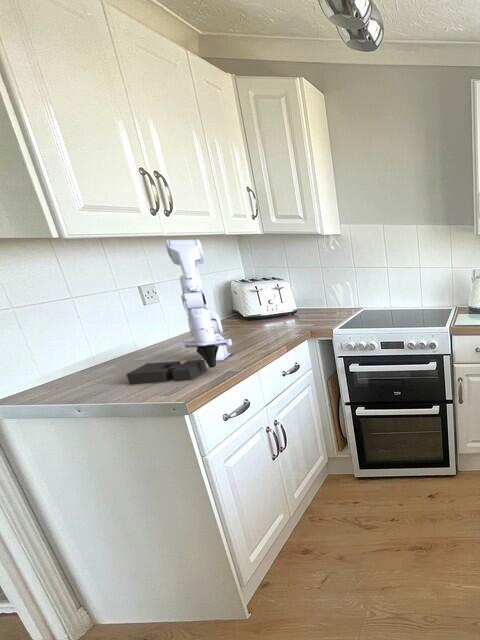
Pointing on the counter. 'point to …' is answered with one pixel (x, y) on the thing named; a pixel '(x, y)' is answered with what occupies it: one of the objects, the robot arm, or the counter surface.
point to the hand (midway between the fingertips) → (212, 366)
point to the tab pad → (187, 370)
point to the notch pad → (151, 373)
